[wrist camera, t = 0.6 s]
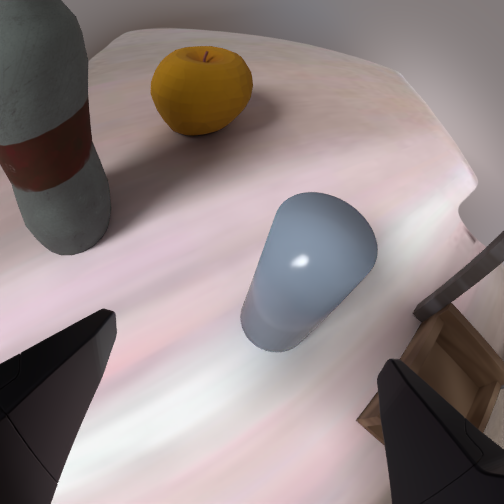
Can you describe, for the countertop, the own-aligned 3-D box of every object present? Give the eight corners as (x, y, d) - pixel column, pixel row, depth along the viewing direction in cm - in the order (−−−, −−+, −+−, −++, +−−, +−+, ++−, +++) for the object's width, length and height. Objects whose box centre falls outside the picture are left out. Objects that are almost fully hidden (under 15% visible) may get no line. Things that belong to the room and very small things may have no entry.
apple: (261, 127, 42) (278, 56, 33) (200, 169, 35) (208, 82, 26) (195, 95, 45) (201, 31, 35) (131, 128, 38) (127, 53, 28)
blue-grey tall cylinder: (313, 348, 26) (390, 280, 15) (244, 354, 24) (284, 286, 14) (301, 287, 29) (358, 195, 18) (237, 289, 28) (266, 189, 17)
